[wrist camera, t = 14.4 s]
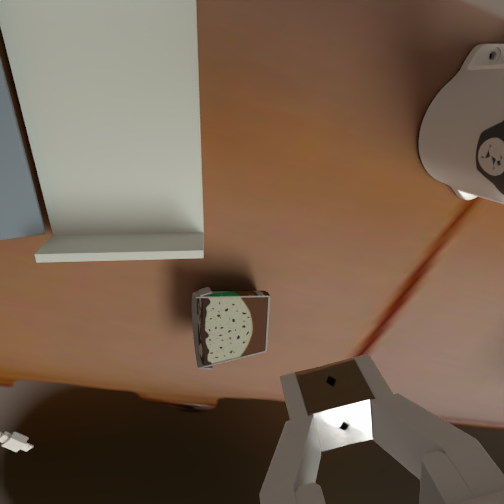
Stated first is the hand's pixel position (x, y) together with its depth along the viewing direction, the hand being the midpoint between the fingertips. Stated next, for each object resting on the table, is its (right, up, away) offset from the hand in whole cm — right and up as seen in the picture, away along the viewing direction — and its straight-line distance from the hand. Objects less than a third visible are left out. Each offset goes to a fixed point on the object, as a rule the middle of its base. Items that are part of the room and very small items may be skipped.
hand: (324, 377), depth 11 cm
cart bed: (-17, +19, +27) cm, 37 cm away
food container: (-1, -5, +39) cm, 39 cm away
